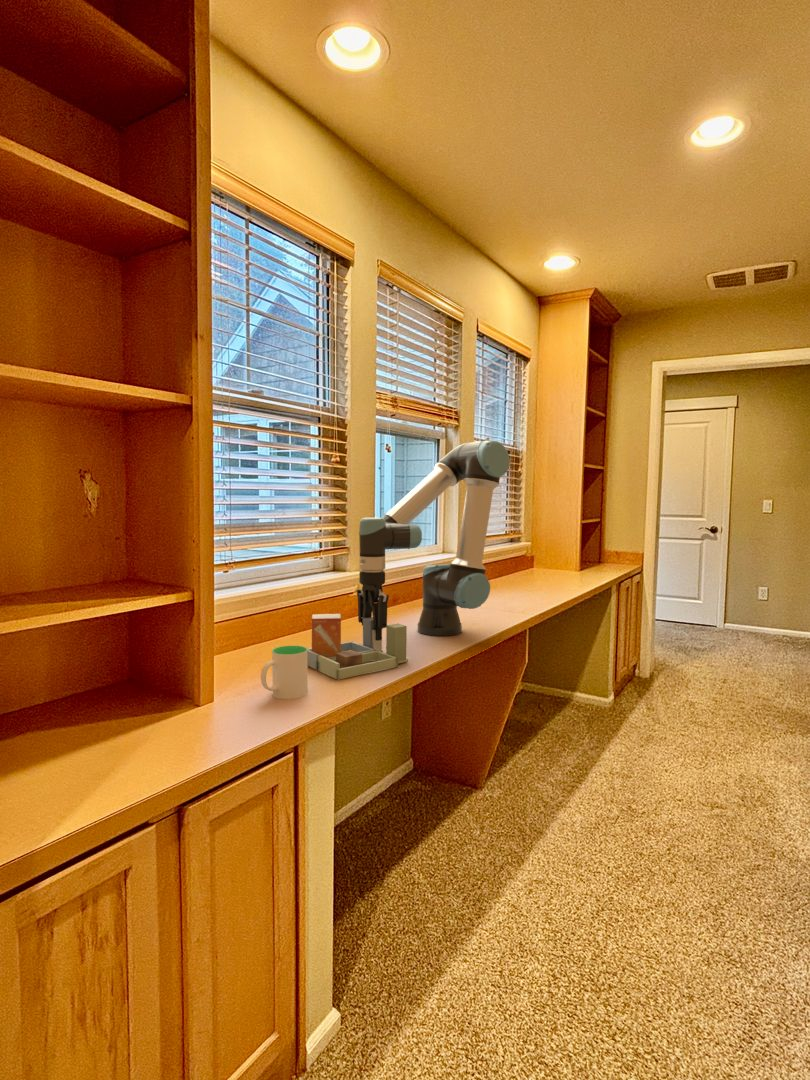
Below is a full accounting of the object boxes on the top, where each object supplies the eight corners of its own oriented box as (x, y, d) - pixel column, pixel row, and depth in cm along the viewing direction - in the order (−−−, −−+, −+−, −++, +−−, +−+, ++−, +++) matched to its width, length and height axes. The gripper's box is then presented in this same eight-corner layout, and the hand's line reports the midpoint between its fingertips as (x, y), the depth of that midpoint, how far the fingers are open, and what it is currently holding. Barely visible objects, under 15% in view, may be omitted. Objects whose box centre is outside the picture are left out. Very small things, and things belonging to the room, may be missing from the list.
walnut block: (352, 668, 161) (351, 650, 161) (362, 672, 157) (362, 654, 157) (335, 671, 158) (335, 653, 158) (345, 676, 154) (345, 657, 154)
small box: (311, 665, 163) (311, 618, 162) (312, 659, 170) (311, 613, 169) (341, 664, 164) (341, 617, 163) (340, 658, 171) (340, 613, 170)
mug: (276, 706, 131) (275, 660, 131) (252, 699, 136) (251, 654, 135) (314, 692, 141) (314, 648, 140) (290, 685, 146) (290, 643, 145)
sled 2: (392, 656, 172) (392, 621, 171) (412, 663, 164) (413, 627, 163) (318, 670, 157) (318, 633, 157) (336, 679, 150) (336, 640, 149)
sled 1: (366, 646, 183) (366, 614, 182) (390, 655, 173) (390, 621, 172) (294, 659, 168) (294, 624, 167) (316, 669, 158) (316, 632, 157)
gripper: (346, 568, 179) (346, 645, 181) (378, 574, 165) (378, 657, 167) (366, 566, 184) (366, 641, 185) (400, 572, 170) (399, 653, 172)
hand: (372, 648), depth 176 cm, fingers closed on sled 1, 4 cm apart
